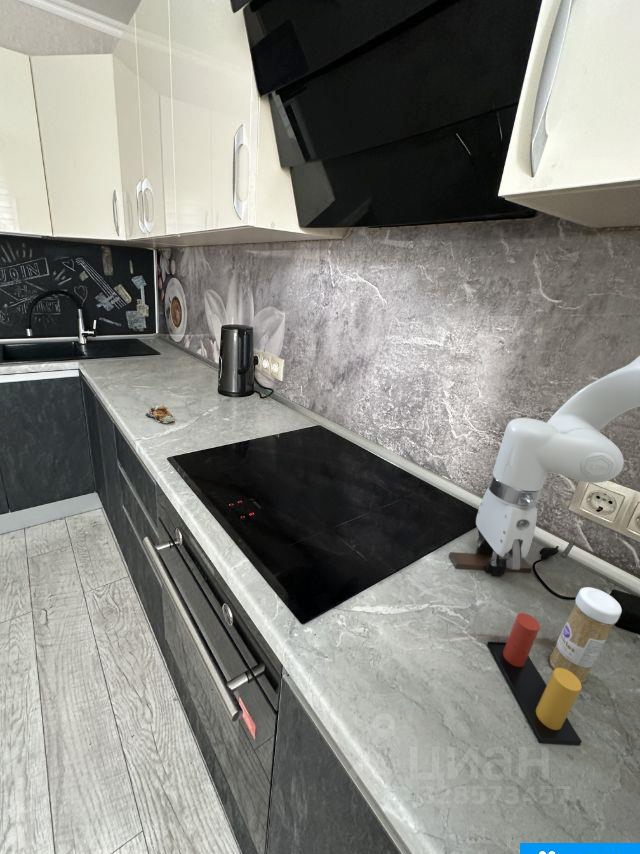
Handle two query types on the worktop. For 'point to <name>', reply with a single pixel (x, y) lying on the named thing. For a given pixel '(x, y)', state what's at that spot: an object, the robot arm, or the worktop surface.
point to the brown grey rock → (160, 414)
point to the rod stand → (537, 685)
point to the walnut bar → (482, 562)
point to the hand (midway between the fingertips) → (486, 571)
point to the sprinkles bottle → (585, 632)
